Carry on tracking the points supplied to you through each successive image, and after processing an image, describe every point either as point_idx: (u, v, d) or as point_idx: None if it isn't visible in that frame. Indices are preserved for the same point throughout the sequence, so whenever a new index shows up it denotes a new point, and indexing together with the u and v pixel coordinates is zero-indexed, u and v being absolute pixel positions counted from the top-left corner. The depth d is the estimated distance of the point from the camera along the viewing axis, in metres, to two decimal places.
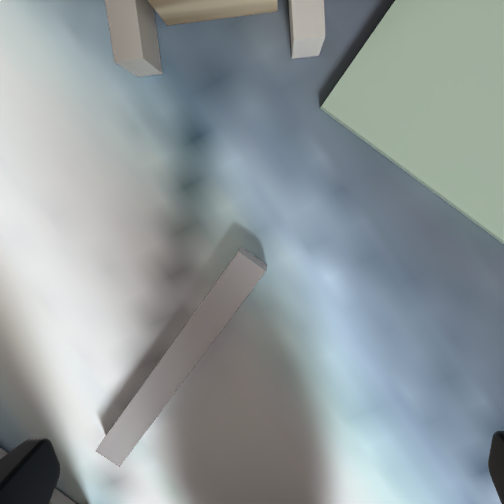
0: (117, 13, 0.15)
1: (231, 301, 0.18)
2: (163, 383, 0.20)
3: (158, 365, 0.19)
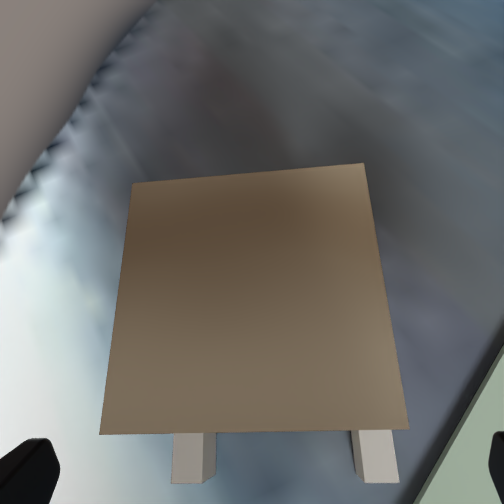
0: (184, 433, 0.15)
1: None
2: None
3: None
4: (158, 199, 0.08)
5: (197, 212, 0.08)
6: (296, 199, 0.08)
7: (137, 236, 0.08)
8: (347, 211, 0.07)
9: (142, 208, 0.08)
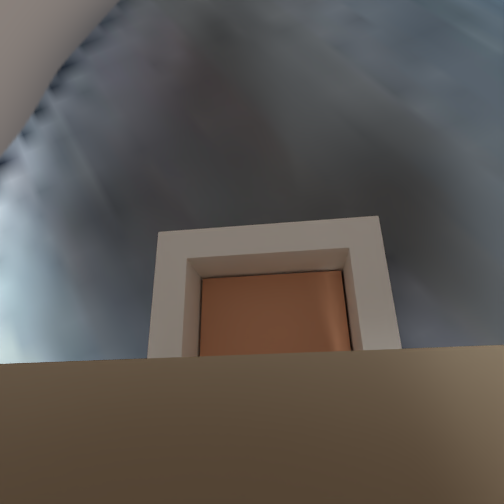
0: None
1: None
2: None
3: None
4: None
5: (60, 478, 0.03)
6: (329, 456, 0.03)
7: None
8: None
9: None
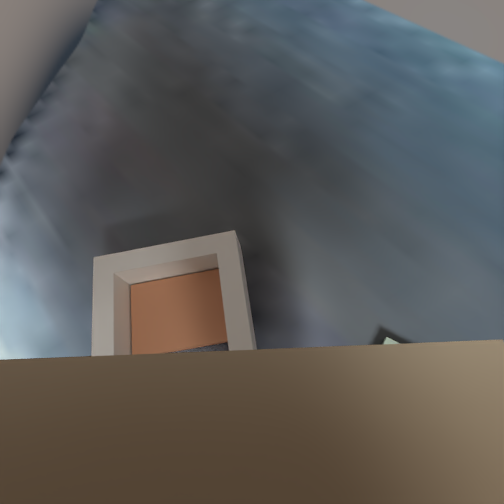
0: None
1: None
2: None
3: None
4: None
5: (56, 472, 0.03)
6: (323, 451, 0.03)
7: None
8: None
9: None
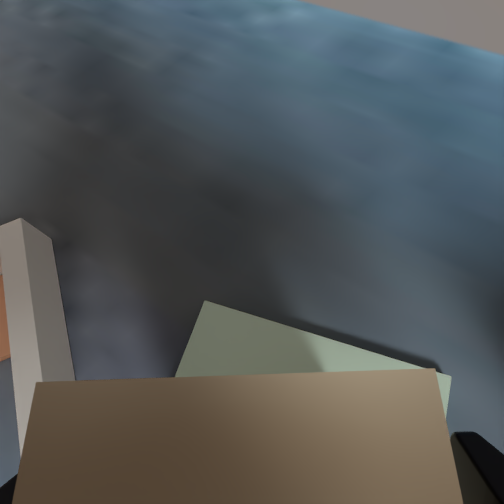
0: None
1: None
2: None
3: None
4: (75, 422, 0.05)
5: (140, 456, 0.04)
6: (316, 441, 0.04)
7: (33, 502, 0.04)
8: (413, 479, 0.04)
9: (47, 438, 0.05)
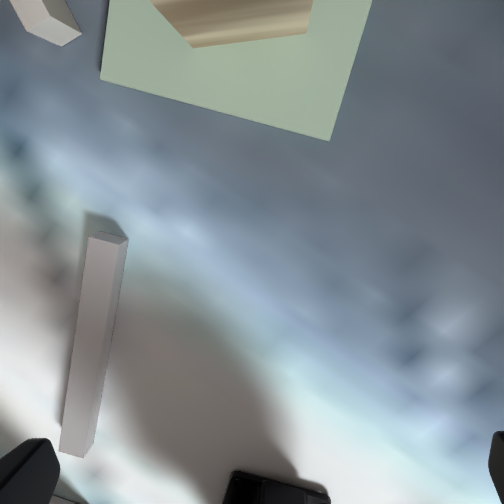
0: None
1: (103, 282, 0.19)
2: (83, 374, 0.21)
3: (72, 360, 0.21)
4: None
5: None
6: None
7: None
8: None
9: None
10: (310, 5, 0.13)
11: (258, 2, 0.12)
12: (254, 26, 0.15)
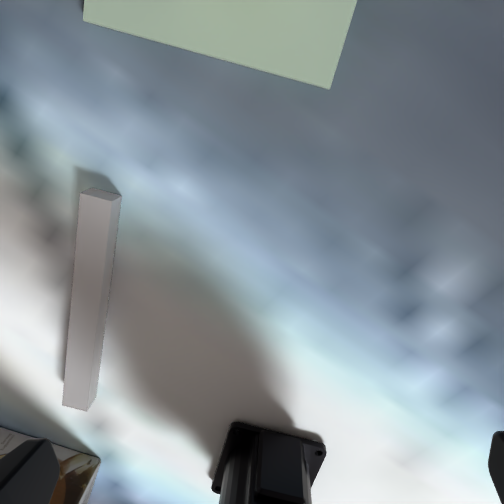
0: None
1: (98, 240, 0.19)
2: (82, 332, 0.21)
3: (70, 318, 0.21)
4: None
5: None
6: None
7: None
8: None
9: None
10: None
11: None
12: None
